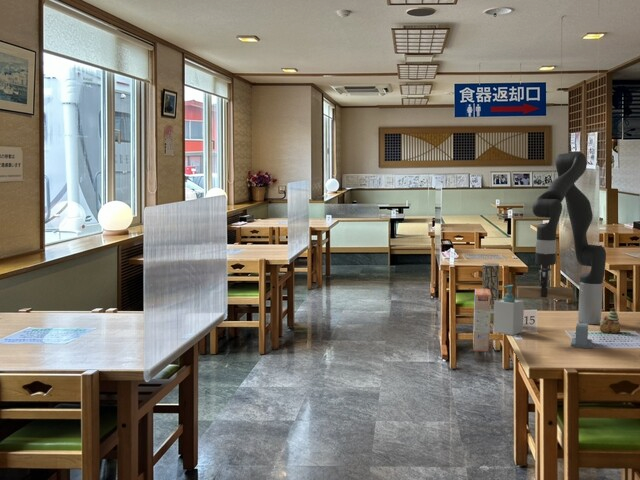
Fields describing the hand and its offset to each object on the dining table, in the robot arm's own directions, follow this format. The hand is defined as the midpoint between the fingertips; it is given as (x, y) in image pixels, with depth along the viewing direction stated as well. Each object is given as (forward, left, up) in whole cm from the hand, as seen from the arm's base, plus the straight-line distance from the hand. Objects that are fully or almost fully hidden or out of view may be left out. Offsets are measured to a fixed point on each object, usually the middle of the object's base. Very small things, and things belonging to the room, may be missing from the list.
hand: (544, 295), depth 271 cm
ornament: (-24, +24, -17) cm, 38 cm away
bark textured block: (-26, -24, -17) cm, 39 cm away
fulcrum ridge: (+2, +14, -17) cm, 22 cm away
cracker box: (+21, -20, -17) cm, 34 cm away
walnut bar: (0, 0, -1) cm, 1 cm away
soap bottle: (-8, -14, -17) cm, 24 cm away
